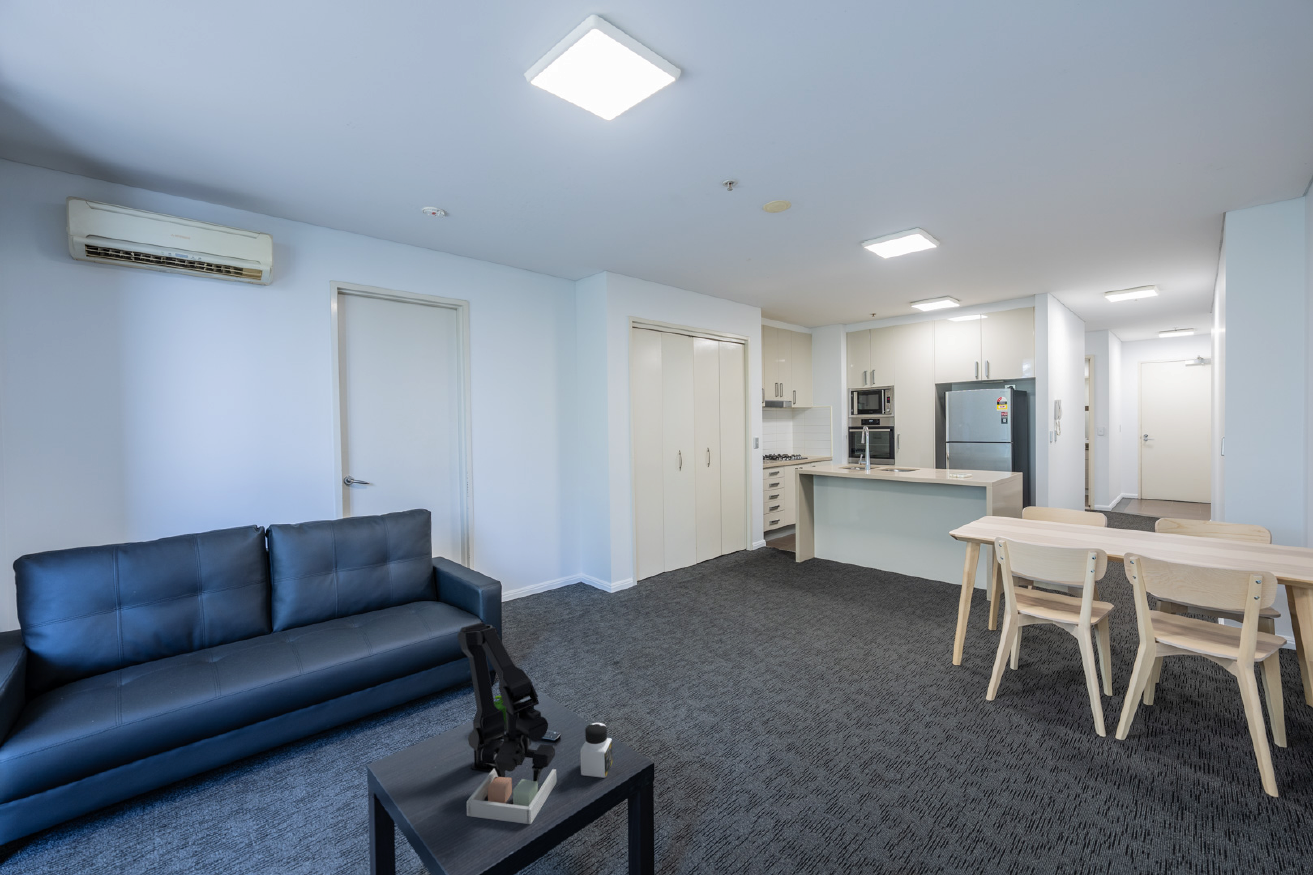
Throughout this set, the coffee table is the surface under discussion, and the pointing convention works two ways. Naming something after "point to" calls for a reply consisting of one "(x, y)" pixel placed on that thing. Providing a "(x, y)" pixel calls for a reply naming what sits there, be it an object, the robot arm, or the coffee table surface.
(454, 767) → the coffee table surface
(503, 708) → the bell pepper
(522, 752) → the robot arm
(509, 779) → the salmon pink cube
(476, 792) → the box
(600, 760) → the medicine bottle
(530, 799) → the pale green cube
